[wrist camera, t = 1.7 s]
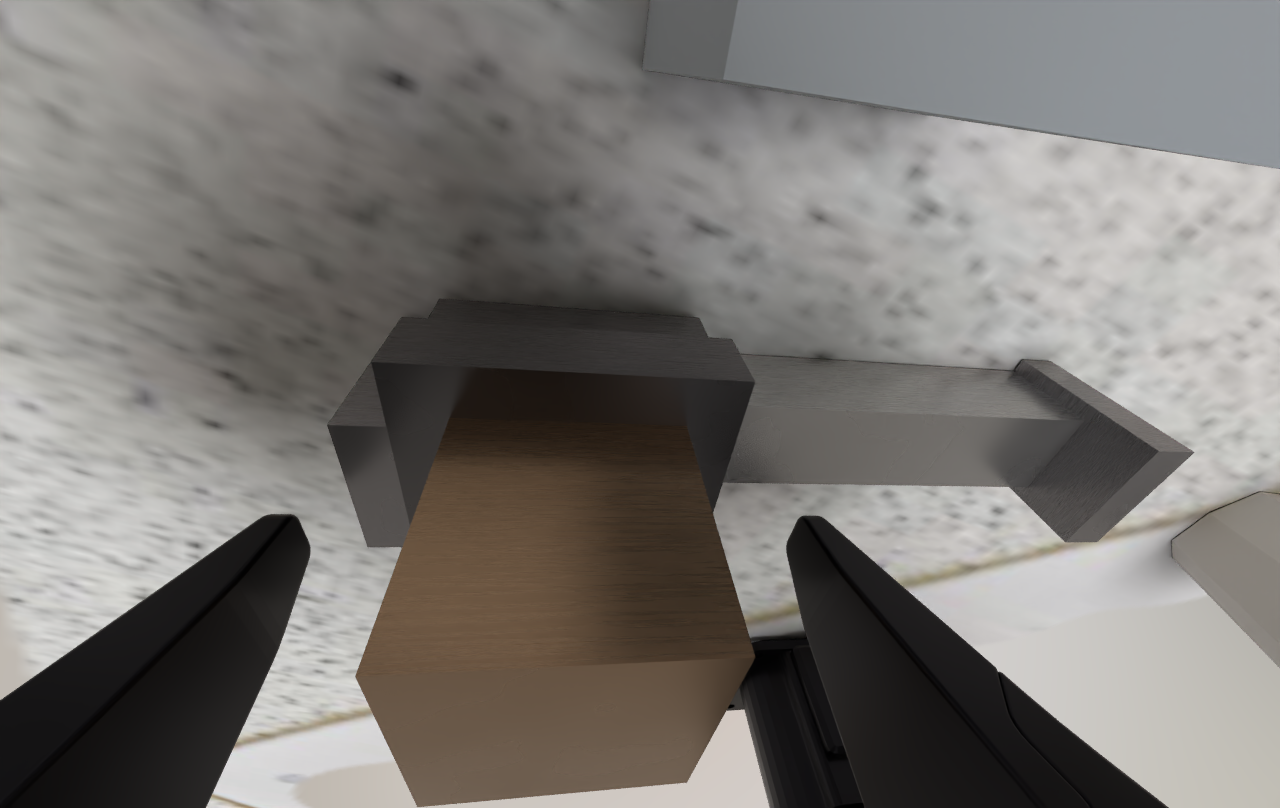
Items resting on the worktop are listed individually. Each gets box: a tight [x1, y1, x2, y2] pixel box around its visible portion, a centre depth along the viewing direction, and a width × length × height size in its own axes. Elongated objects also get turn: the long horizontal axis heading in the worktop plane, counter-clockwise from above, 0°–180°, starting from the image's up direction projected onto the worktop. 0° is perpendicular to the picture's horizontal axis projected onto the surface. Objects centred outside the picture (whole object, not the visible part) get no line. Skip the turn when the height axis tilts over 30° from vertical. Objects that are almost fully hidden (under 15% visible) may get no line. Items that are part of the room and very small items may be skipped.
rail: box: [327, 354, 1194, 547], centre depth 12 cm, size 3×18×4 cm, turn 82°
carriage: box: [355, 299, 755, 807], centre depth 9 cm, size 6×6×8 cm
